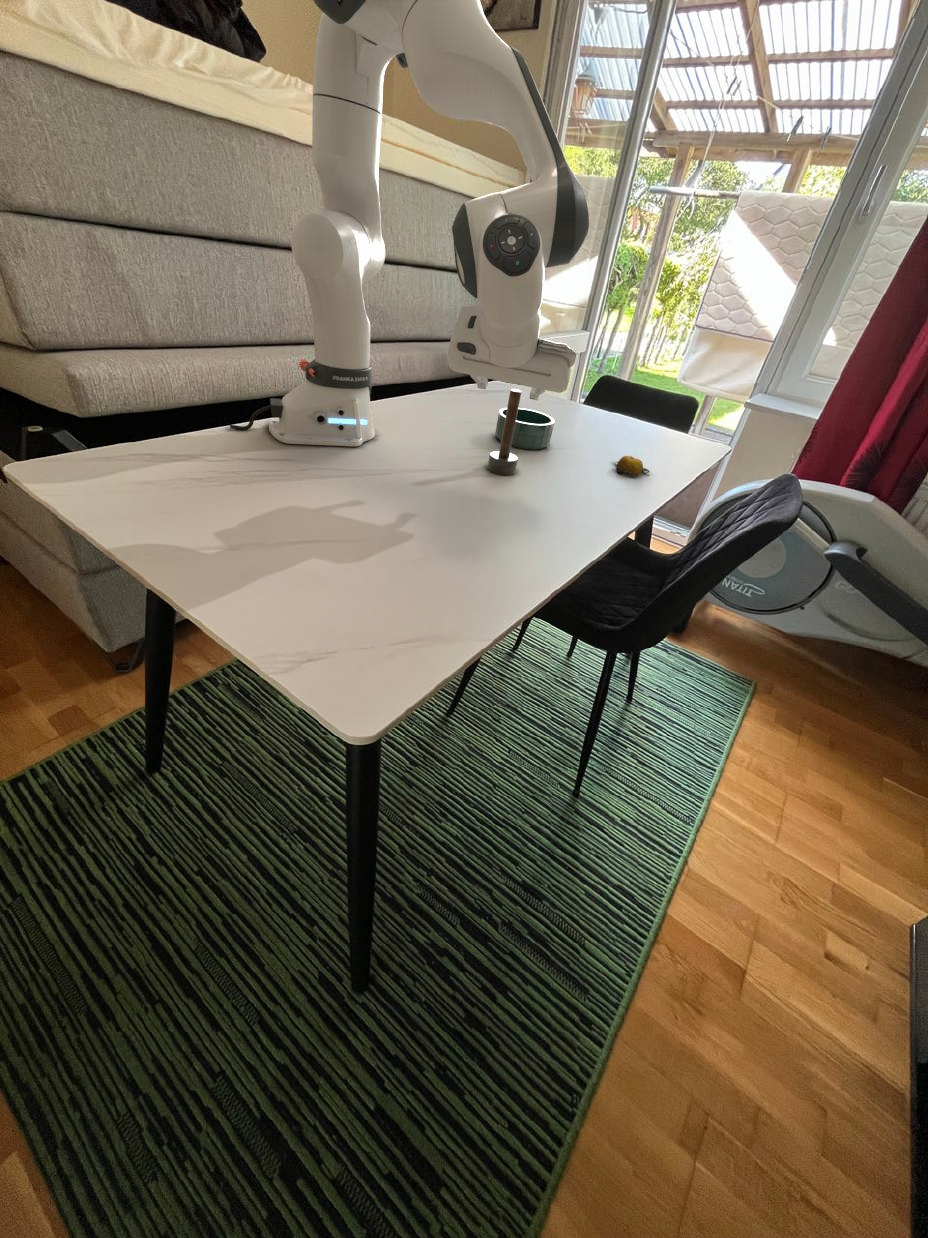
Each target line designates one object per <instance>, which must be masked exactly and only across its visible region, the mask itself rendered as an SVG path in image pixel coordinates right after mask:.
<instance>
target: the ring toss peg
mask: <svg viewBox="0 0 928 1238" xmlns="http://www.w3.org/2000/svg"><path fill="white" fill-rule="evenodd" d="M521 398H522V390H520V389H516V388H510V390H509V395H508V402H507V407H506V408H507V412H506V418H505V423H504V429H503V434H502V440H501V441H500V446H499V450H494V451H491V452H490V453H489V457H488V462H487V470H488V471H489V472H491V473H493V474H496V475H501V476H512V475H515V474H516V471H517V465H518V460H519V457H518V456H517V455H516V454H514V453H512V452H511V449H512V446H511V444H512V439H513V434H514V429H515V423H516V418H517V413H518V408H520V402H521Z"/></svg>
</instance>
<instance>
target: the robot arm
mask: <svg viewBox="0 0 928 1238" xmlns="http://www.w3.org/2000/svg"><path fill="white" fill-rule="evenodd" d="M312 1H313V2H314V5H316V6H317V8H318V9H319V10H320V11H321V16H320V19H319V23H318V29H317V33H316V34H317V35H316V42H315V49H314V60H313V72H312V73H313V74H312V75H313V76H312V112H311V113H312V114H311V115H312V117H311V119H312V120H311V121H312V122H311V125H312V126H311V127H312V128H311V129H312V131H311V132H312V134H311V143H312V144H311V159H312V163H313V166H314V169H315V172H316V174H317V178H318V181H319V186H320V191H321V199H322V205H323V208H319V209H316V210H313V211H310V212H308V213H307V214H305V215H303V216H301V217H300V218H299V219H298V220H297V222H295V225H294V227H293V229H292V233H291V237H290V239H291V240H290V241H291V243H290V244H291V251H292V255H293V259H294V261H295V263H296V265H297V267H298V268H299V270H300V272H301V273H302V275H303V278H304V282H305V287H306V290H307V294H308V298H309V303H310V307H311V308H310V309H311V313H312V322H313V343H314V344H313V345H314V359H313V360H311V361H310V362H309V361H308V360H307V359H305V358H302V359H300V361H299V362H298V366H299V368H300V370H302V371H303V372H304V373H305V374H304V375H305V380H303V381H302V382H301V383H299V384H298V385H297V386H295V387H294V388H293V389H291V390H290V391H289V392H287V393H286V394H285V395H283V397H282V399H281V398H274V397H273V398H272V397H271V398H269V402H270V404H269V405H267V406H263V407H261V408H258V409H257V410H255V411H254V412H253V413H252V414H251V416H250V418H249V422H248V424H247V425H245V426H242V425H236V424H229V429H233V430H237V431H247V430H250V429H251V428H252V427H253V425H254V422H255V419H256V417H257V416H258V415H259V414H262V413H264V412H267V411H270V412H271V417H272V418H271V420H269V423H268V430H269V433H270V434H271V436H273V438H275V439H276V440H277V441H279V442H282V443H284V444H290V445H307V446H308V445H309V446H332V447H333V446H334V447H360V446H361V445H362V444H363V443H364V442H367V441H370V440H372V439H373V438H375V436H376V431H375V428H374V422H373V417H372V416H373V415H372V408H371V394H372V386H373V374H372V366H371V364H370V363H371V361H370V359H371V330H372V329H371V327H372V326H371V321H370V319H369V317H368V313H367V310H366V305H365V300H364V299H365V298H364V292H363V284H364V283H368V282H369V281H371V280H372V279H373V278H374V277H376V276H377V275H378V274H379V272H380V271H381V270H382V268H383V266H384V264H385V260H386V246H385V241H384V238H383V234H382V217H381V204H380V190H379V189H380V185H379V168H380V167H379V166H380V165H379V164H380V153H381V152H380V150H381V137H382V136H381V132H382V121H383V120H382V119H383V103H384V101H383V100H384V99H383V98H384V97H383V96H384V81H385V73H386V70H387V67H388V65H389V64H390V62H391V61H392V59H394V58H395V57H396V60H397V62H398V64H399V65H400V66H401V68H403V69H405V68H408V70H409V73H410V76H411V79H412V82H413V84H414V86H415V89H416V91H417V93H418V95H419V96H420V99H422V101H423V102H424V103H425V104H426V106H428V107H429V108H430V109H432V110H433V111H435V112H436V113H437V114H439V115H441V116H443V117H445V118H449V119H451V120H455V121H456V120H457V121H470V122H471V121H472V122H479V123H486V124H490V125H493V126H497V127H499V128H500V129H503V130H505V131H506V132H508V133H509V134H510V135H511V136H512V138H513V139H514V141H515V143H516V145H517V148H518V150H519V152H520V155H521V157H522V160H523V162H524V165H525V168H526V169H527V172H528V174H529V178H530V179H531V182H528V183H526V184H525V183H524V184H522V185H518V186H515V187H512V188H509V189H504V190H502V191H496V192H492V193H489V194H485V195H482V196H479V197H475V198H473V199H470V200H468V201H465V202H463V203H462V204H461V205H460V207H459V209H458V211H457V213H456V215H455V216H454V220H453V222H452V225H451V232H452V238H453V251H454V252H453V253H454V263H455V268H456V273H457V276H458V280H459V282H460V283H461V285H462V287H463V288H464V289H465V291H467V292H468V293H469V294H470V296H472V297H473V298H475V299H477V301H478V304H473V305H472V304H469V305H463V306H461V307H460V309H459V311H458V313H457V316H456V319H455V321H454V324H453V326H452V329H451V330H452V331H451V336H450V343H449V345H448V350H447V366H448V367H449V369H450V370H451V371H453V372H455V373H460V374H465V375H469V376H470V378H471V379H472V380H473V381H474V382H475V384H476V387H477V389H479V390H486V389H487V386H488V383H489V380H493V381H499V382H505V383H509V384H514V385H519V386H523V387H529V388H531V389H530V393H529V399H530V400H534V401H538V400H539V397H540V395H542V394H544V393H545V392H546V391H548V392H553V393H558V394H561V393H563V392H565V391H567V389H568V386H569V383H570V380H571V379H570V378H571V374H572V368H573V366H574V365H575V363H576V360H577V352H576V351H575V350H574V349H572V348H571V347H569V345H568V344H566V343H563V342H554V341H552V340H548V339H544V338H543V339H542V338H540V331H541V330H540V329H541V321H542V316H541V309H540V308H541V306H542V303H543V300H544V299H543V298H544V289H545V268H546V269H548V268H553V267H559V266H564V265H569V264H570V263H571V262H572V261H573V259H574V258H575V257H576V256H577V254H578V253H579V251H580V250H581V248H582V247H583V245H584V243H585V241H586V239H587V237H588V234H589V229H590V215H589V207H588V202H587V198H586V195H585V192H584V190H583V187H582V185H581V183H580V181H579V179H578V178H577V177H576V175H575V173H574V171H573V170H572V168H571V166H570V165H569V162H568V160H567V158H566V155H565V153H564V151H563V149H562V146H561V144H560V141H559V139H558V136H557V134H556V130H555V128H554V127H553V126H554V125H553V124H552V121H551V118H550V116H549V113H548V111H547V109H546V108H547V107H546V106H545V104H544V101H543V98H542V96H541V93H540V91H539V89H538V86H537V84H536V81H535V80H534V77H533V75H532V73H531V70H530V67H529V66H528V64H527V62H526V60H525V59H524V57H523V55H522V53H521V52H520V51H519V49H516V48H514V47H513V46H511V45H510V44H509V45H508V44H507V43H506V42H505V41H504V40H503V39H502V38H500V36H499V35H498V34H497V32H495V30H494V29H493V27H492V26H491V24H490V23H489V21H488V19H487V17H486V15H485V13H484V12H485V11H484V9H483V5H482V2H481V0H312Z"/></svg>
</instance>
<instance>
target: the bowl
mask: <svg viewBox="0 0 928 1238" xmlns="http://www.w3.org/2000/svg"><path fill="white" fill-rule="evenodd" d="M506 412H507V407H504V408H500V409H499V411H498V415H497V420H496V426H495V433H494V435H495V436H496V438H497V440H499V442H501V440H502V434H503V429H504V423H505V418H506ZM554 426H555V419H554V418H553V417H552V416H550V415H548V414H546V413H544V412H540V411H537V410H533V409H527V408H520V407H519V408H518V413H517V418H516V423H515V429H514V434H513V439H512V444H511V447H513V448H517V449H522V450H530V451H534V450H537V451H538V450H542V449H545V448H547V447H548V446H549V445H550V442H551V438H552V435H553V430H554Z"/></svg>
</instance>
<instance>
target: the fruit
mask: <svg viewBox="0 0 928 1238" xmlns="http://www.w3.org/2000/svg"><path fill="white" fill-rule="evenodd" d="M614 463H615V465H616V467H615V470H616V472H617V473H619V474H620V473H624V474H626V473H628V474H631V475H632V477H639V476H640V475H641V473H642V472H646V474H648V473H650V472H651V471H650V469H648V468H646V467H644V464H643V461H642V460H641V459H639V458H636V457H633V456H632V455H623V456H622V457H621V458H619V460H618V461H615V462H614Z"/></svg>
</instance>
